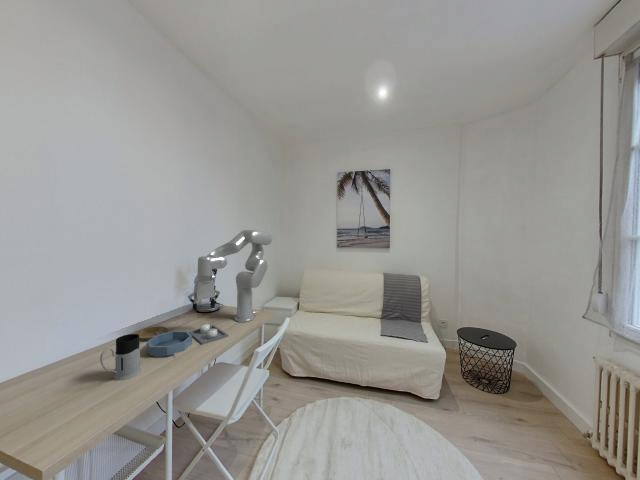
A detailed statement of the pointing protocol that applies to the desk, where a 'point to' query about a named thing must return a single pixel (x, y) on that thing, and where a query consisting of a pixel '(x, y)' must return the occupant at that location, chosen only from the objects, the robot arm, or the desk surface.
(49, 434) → the desk surface
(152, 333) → the plant saucer
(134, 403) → the desk surface
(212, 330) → the pebble
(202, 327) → the pebble
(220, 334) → the tray
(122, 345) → the glass holder
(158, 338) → the bowl
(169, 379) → the desk surface
